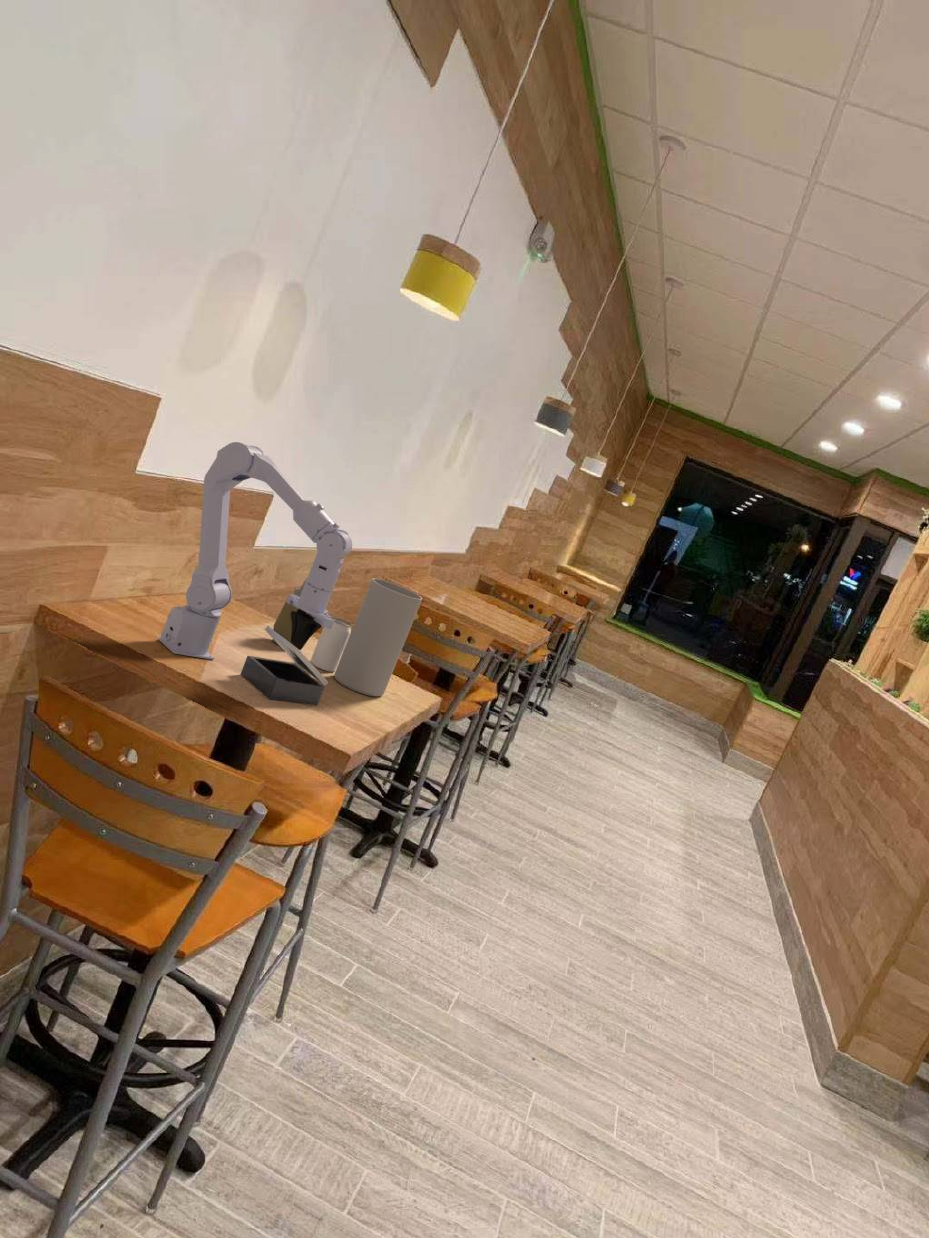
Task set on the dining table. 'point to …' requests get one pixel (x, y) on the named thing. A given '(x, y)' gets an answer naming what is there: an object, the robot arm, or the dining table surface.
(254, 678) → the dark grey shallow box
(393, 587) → the cylinder vase
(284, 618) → the squeeze bottle
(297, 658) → the lid
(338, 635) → the can
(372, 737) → the dining table surface
